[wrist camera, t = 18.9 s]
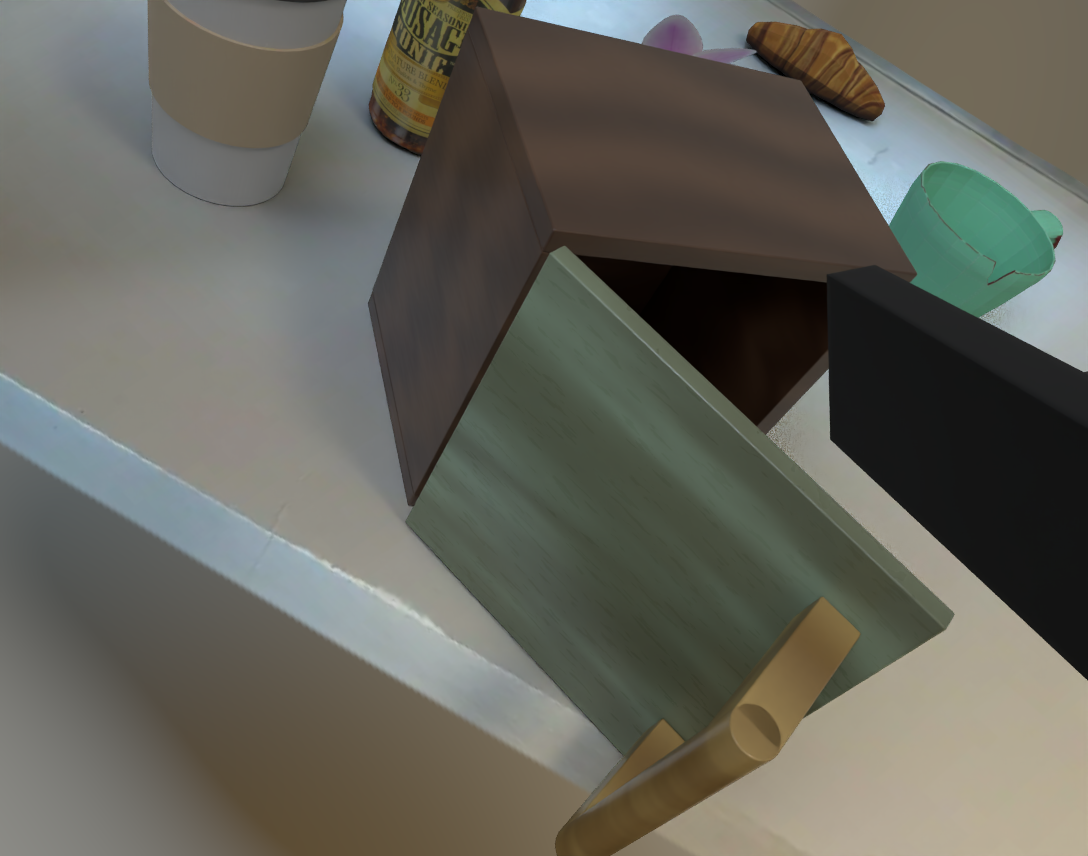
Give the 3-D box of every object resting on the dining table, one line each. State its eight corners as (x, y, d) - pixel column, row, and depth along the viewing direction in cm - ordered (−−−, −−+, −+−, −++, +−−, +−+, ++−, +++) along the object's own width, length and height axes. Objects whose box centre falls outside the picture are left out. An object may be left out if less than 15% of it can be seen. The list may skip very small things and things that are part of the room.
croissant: (731, 56, 82) (763, 3, 78) (750, 29, 86) (781, -23, 83) (866, 142, 82) (904, 93, 78) (877, 110, 87) (914, 63, 83)
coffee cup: (198, 241, 47) (243, -43, 36) (90, 123, 49) (102, -182, 38) (340, 193, 53) (416, -64, 42) (239, 89, 55) (287, -183, 44)
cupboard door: (575, 923, 35) (855, 781, 23) (291, 601, 38) (405, 325, 26) (677, 790, 40) (956, 613, 28) (417, 513, 43) (564, 244, 31)
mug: (882, 388, 62) (993, 281, 55) (799, 274, 66) (893, 161, 59) (1009, 360, 70) (1121, 263, 63) (929, 260, 74) (1025, 159, 67)
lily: (731, 160, 74) (759, 24, 70) (742, 187, 63) (776, 29, 59) (575, 136, 74) (594, 0, 70) (560, 159, 63) (581, 0, 59)
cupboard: (703, 500, 50) (919, 274, 38) (407, 506, 43) (553, 229, 31) (635, 323, 56) (801, 79, 44) (367, 303, 49) (475, 5, 37)
